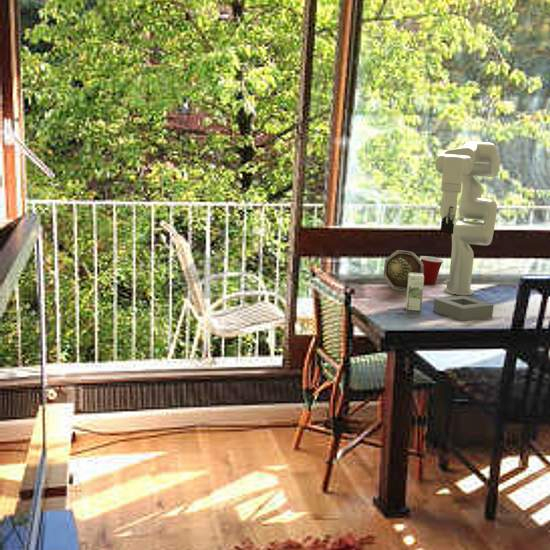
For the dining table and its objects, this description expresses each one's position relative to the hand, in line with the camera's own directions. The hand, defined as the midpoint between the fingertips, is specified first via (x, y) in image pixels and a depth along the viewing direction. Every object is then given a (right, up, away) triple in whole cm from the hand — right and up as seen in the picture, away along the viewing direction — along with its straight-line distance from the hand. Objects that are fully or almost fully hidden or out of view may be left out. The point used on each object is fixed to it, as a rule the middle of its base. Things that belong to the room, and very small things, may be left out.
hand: (446, 232), depth 298 cm
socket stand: (+7, -32, +3) cm, 33 cm away
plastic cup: (+5, -21, +56) cm, 60 cm away
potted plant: (-12, -24, +38) cm, 47 cm away
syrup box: (-12, -31, +6) cm, 33 cm away
